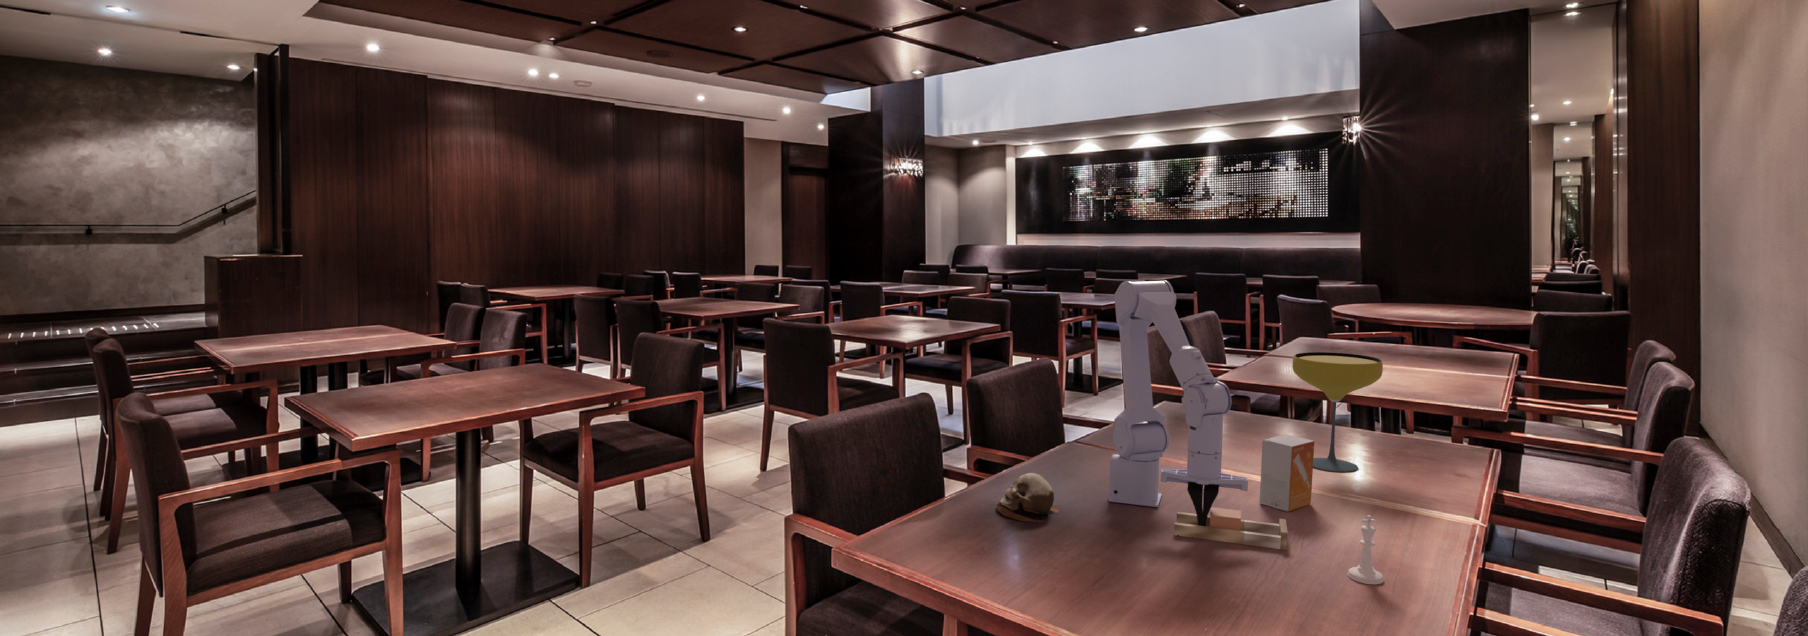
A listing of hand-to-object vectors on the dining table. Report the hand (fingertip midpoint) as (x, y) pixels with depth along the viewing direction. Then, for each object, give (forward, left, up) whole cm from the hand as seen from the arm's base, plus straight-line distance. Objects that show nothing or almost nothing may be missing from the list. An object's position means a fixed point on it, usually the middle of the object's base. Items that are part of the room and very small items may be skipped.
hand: (1202, 524), depth 146 cm
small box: (+14, +22, -2) cm, 26 cm away
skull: (-32, -1, -2) cm, 32 cm away
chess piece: (+24, -11, -2) cm, 27 cm away
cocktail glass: (+25, +55, -2) cm, 61 cm away
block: (+4, 0, -1) cm, 4 cm away
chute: (+4, 0, -1) cm, 4 cm away
